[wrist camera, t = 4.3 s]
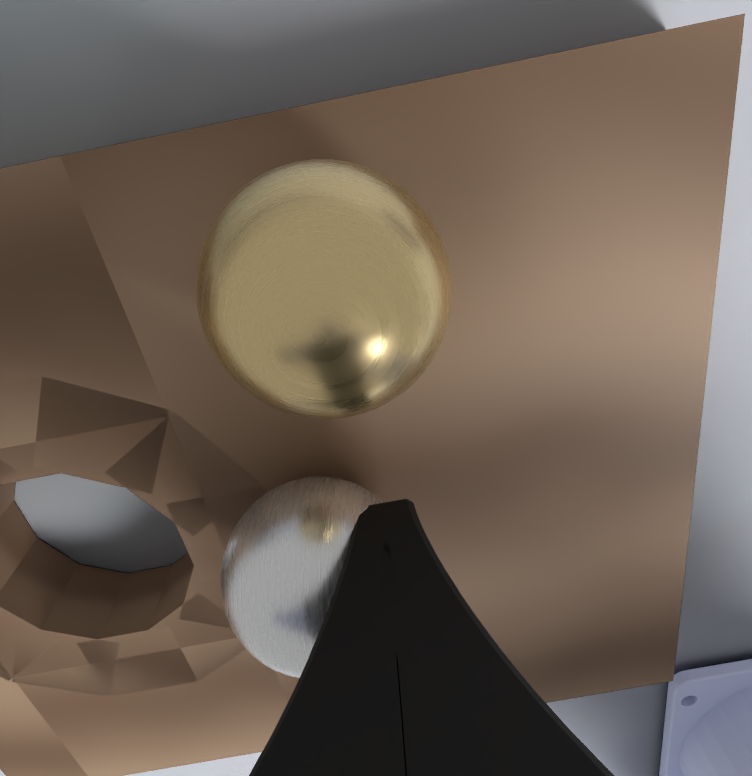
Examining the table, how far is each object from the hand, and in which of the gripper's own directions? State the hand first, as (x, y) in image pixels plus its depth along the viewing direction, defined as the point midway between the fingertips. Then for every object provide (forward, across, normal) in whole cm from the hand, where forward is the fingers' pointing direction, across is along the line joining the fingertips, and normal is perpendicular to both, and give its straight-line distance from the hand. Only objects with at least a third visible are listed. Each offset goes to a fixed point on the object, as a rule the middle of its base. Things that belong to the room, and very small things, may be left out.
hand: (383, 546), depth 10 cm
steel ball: (0, +1, 0) cm, 1 cm away
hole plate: (+3, +2, 0) cm, 4 cm away
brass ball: (0, 0, -5) cm, 5 cm away
